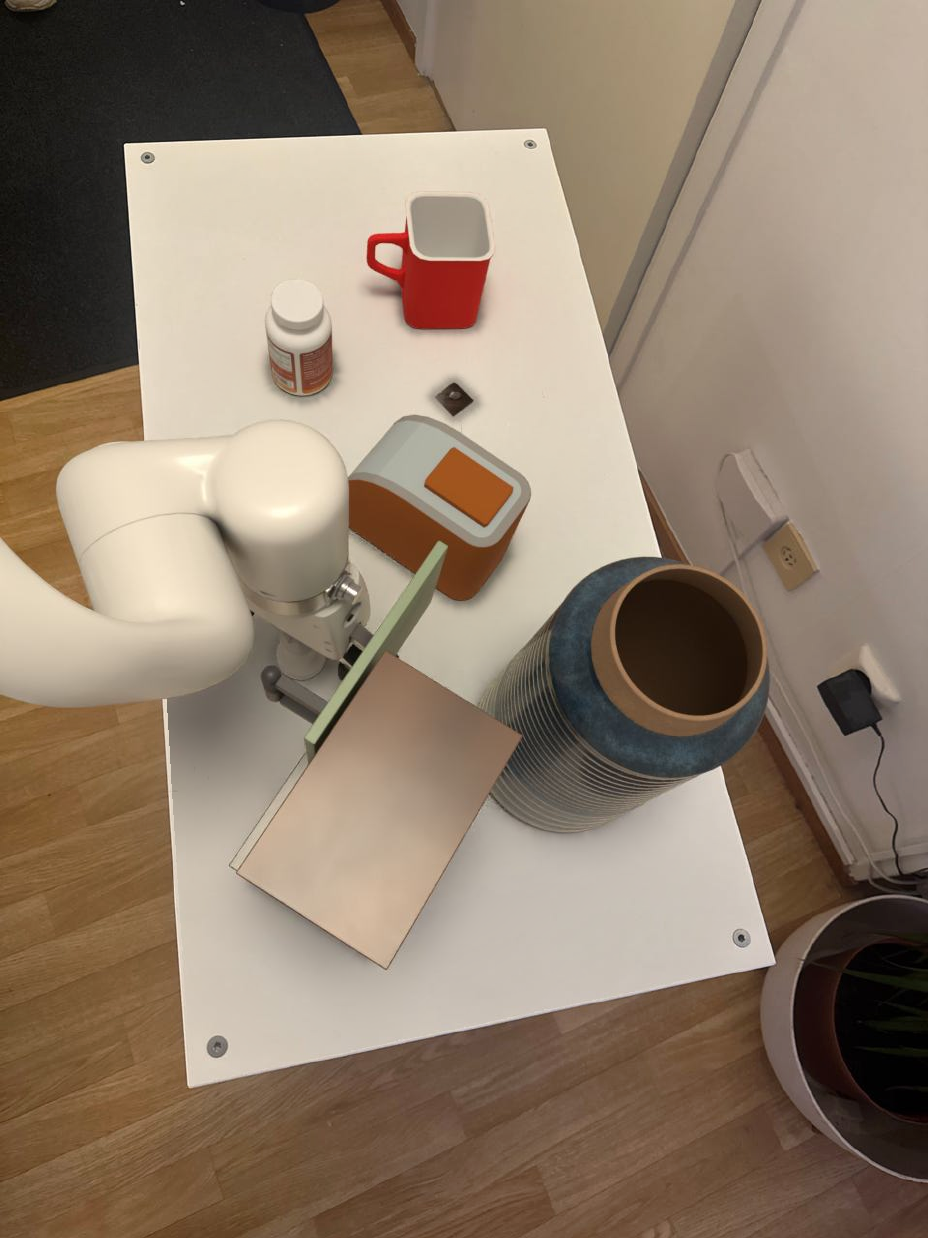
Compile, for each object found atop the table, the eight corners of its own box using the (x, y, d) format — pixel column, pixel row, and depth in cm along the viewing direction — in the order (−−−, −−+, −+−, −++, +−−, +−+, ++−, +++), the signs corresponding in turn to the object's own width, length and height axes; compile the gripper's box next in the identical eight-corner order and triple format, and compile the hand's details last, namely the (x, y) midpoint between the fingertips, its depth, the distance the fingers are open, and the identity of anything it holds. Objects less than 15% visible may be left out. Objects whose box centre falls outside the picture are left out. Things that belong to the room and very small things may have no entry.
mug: (471, 267, 97) (487, 191, 87) (480, 330, 94) (497, 260, 84) (361, 266, 95) (364, 189, 85) (367, 331, 92) (371, 260, 82)
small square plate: (453, 416, 90) (453, 410, 89) (434, 397, 91) (434, 390, 90) (473, 400, 91) (474, 394, 90) (454, 381, 91) (455, 374, 90)
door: (247, 729, 57) (230, 692, 47) (366, 561, 61) (372, 498, 52) (317, 773, 56) (314, 745, 47) (431, 602, 61) (448, 545, 52)
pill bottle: (333, 347, 91) (333, 273, 80) (332, 399, 89) (331, 330, 79) (271, 344, 90) (263, 268, 80) (269, 396, 88) (260, 325, 78)
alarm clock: (513, 544, 87) (544, 479, 74) (465, 609, 84) (489, 553, 71) (391, 460, 88) (400, 382, 75) (339, 521, 85) (340, 451, 72)
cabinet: (255, 880, 73) (205, 854, 44) (348, 739, 78) (358, 632, 49) (365, 950, 73) (386, 970, 44) (452, 804, 78) (523, 735, 49)
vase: (664, 814, 80) (860, 753, 50) (491, 850, 77) (591, 806, 47) (619, 644, 85) (774, 497, 55) (454, 671, 82) (524, 530, 52)
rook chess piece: (333, 642, 81) (333, 614, 73) (317, 687, 79) (315, 663, 72) (286, 628, 81) (281, 598, 73) (269, 672, 79) (262, 647, 72)
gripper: (432, 581, 59) (414, 653, 75) (216, 449, 60) (244, 548, 76) (371, 673, 56) (365, 726, 72) (146, 533, 57) (190, 617, 73)
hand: (303, 635), depth 74 cm, fingers open, 9 cm apart
